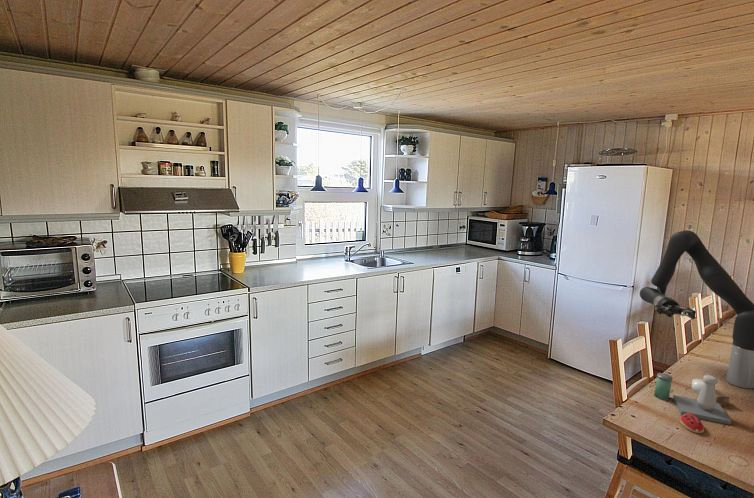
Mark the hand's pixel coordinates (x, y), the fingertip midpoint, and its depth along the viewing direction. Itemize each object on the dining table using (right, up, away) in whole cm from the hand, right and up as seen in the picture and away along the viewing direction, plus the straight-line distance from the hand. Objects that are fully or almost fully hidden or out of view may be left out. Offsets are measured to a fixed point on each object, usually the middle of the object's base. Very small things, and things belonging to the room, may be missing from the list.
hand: (682, 316), depth 178 cm
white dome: (+6, -31, -3) cm, 32 cm away
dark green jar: (-14, -32, -8) cm, 36 cm away
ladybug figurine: (-17, -36, -28) cm, 48 cm away
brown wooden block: (+5, -33, -12) cm, 35 cm away
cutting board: (-6, -34, -18) cm, 39 cm away
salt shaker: (-5, -33, -19) cm, 38 cm away
